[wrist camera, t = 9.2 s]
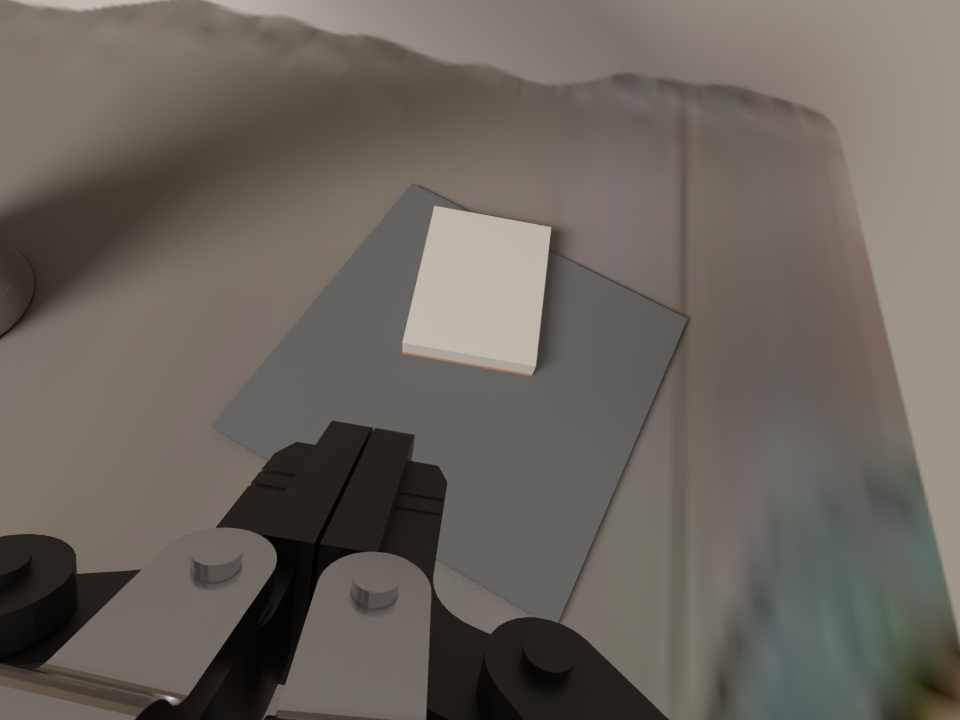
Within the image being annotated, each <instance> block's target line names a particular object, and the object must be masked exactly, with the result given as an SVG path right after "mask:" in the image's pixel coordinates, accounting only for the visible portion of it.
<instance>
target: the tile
mask: <svg viewBox="0 0 960 720" xmlns="http://www.w3.org/2000/svg"><path fill="white" fill-rule="evenodd" d="M550 234H551V227H547V226H542V225H537V224H531V223H526V222H520V221H515V220H509V219H504V218H499V217H493V216H488V215H482V214H477V213H471V212H466V211H461V210H455V209H450V208H444V207H439V206H434V210H433V214H432V218H431V222H430V227H429V231H428V235H427V239H426V244H425V248H424V252H423V256H422V261H421V265H420V269H419V273H418V278H417V282H416V286H415V290H414V295H413V299H412V303H411V307H410V312H409V316H408V320H407V325H406V329H405V333H404V337H403V342H402V353H403V354H407V355H412V356H418V357H424V358H429V359H435V360H441V361H446V362H452V363H458V364H463V365H469V366H475V367H480V368H486V369H492V370H497V371H503V372H509V373H514V374H520V375H526V376H532V374H533V372H534V370H535V367H536V361H537V352H538V343H539V334H540V325H541V315H542V306H543V297H544V288H545V279H546V270H547V261H548V252H549V243H550Z"/></svg>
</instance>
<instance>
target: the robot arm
mask: <svg viewBox="0 0 960 720" xmlns="http://www.w3.org/2000/svg"><path fill="white" fill-rule="evenodd" d="M33 291H34V276H33V271H32V268H31V266H30V265H29V263H28V261H27V260H26V259H25V258H24V257H23V255H22V254H21V253H20V252H19V251H18V250H17V249H16V248H15V247H14V246H13V245H12V244H11V243H10V242H9V241H8V240H7V239H6V238H5V237H4V236H3V235H2V234H1V233H0V335H2V334H3V333H4V332H5V331H7V330H8V329H9V328H11V327H12V325H13V324H14V323H15V322H16V321H17V320H18V319H19V318H20V317H21V316H22V314H23V313H24V311H25V310H26V308H27V306H28V305H29V303H30V300H31V297H32V294H33ZM414 440H415V434H409V433H404V432H398V431H392V430H386V429H380V428H375V429H374V431H373V427H368V426H362V425H356V424H351V423H345V422H339V421H331V422H330V424H329V425H328V427H327V428H326V430H325V431H324V433H323V434H322V436H321V438H320V439H319V441H318V442H317V444H316V445H313V444H308V443H302V442H295V443H293V444H291V445H289V446H288V447H286V448H284V449H282V450H280V451H278V452H276V453H274V455H273V456H272V457H271V458H270V460H269V461H268V462H267V463H266V465H265V466H264V467H263V468H262V472H259V474H258V475H257V476H256V477H255V479H254V480H253V481H252V483H251V486H248V487H247V489H246V490H245V491H244V493H243V494H242V495H241V496H240V498H239V499H238V500H237V501H236V503H235V504H234V505H233V506H232V508H231V509H230V510H229V512H228V513H227V514H226V515H225V517H224V518H223V519H222V520H221V522H220V523H219V524H218V525H217V527H216V528H212V529H205V530H201V531H197V532H193V533H190V534H188V535H185V536H183V537H181V538H178V539H176V540H175V541H173V542H172V543H170V544H168V545H167V546H166V547H165V548H164V549H162V550H161V551H160V552H159V553H158V554H157V555H156V556H155V557H154V558H153V559H152V560H151V561H150V562H149V563H148V564H147V565H146V566H145V567H144V568H143V569H141V570H132V571H118V572H101V573H85V574H77V567H76V554H75V552H74V550H73V548H72V547H71V546H70V545H69V544H67V543H65V542H64V541H62V540H60V539H57V538H54V537H50V536H45V535H35V534H19V535H9V536H3V537H0V720H669V719H668V718H667V717H666V716H665V715H664V714H662V713H661V712H660V711H659V710H658V709H657V708H656V707H655V706H654V705H653V704H652V703H651V702H650V701H649V700H648V699H647V698H646V697H645V696H644V695H643V694H642V693H641V692H640V691H639V690H638V689H637V688H636V687H634V686H633V685H632V684H631V683H630V682H629V681H628V680H627V679H626V678H625V677H624V676H623V675H622V674H621V673H620V672H619V671H618V670H617V669H616V668H615V667H614V666H613V665H612V664H611V663H610V662H609V661H608V660H606V659H605V658H604V657H603V656H602V655H601V654H600V653H599V652H598V651H597V650H596V649H595V648H594V647H593V646H592V645H591V644H590V643H589V642H588V641H587V640H585V639H584V638H583V637H582V636H581V635H579V634H578V633H576V632H575V631H573V630H572V629H570V628H568V627H566V626H564V625H562V624H559V623H557V622H554V621H551V620H547V619H542V618H534V617H524V618H517V619H513V620H510V621H507V622H505V623H503V624H502V625H500V626H499V627H497V628H496V629H495V630H494V631H493V632H492V634H488V633H486V632H484V631H482V630H479V629H477V628H475V627H473V626H471V625H469V624H467V623H465V622H463V621H461V620H460V619H458V618H457V617H455V616H454V615H453V614H452V613H451V612H449V611H448V610H447V609H446V608H445V606H444V605H443V604H442V603H441V601H440V600H439V598H438V597H437V595H436V592H435V590H434V585H433V574H434V567H435V561H436V554H437V548H438V541H439V535H440V528H441V522H442V515H443V509H444V502H445V496H446V489H447V483H448V482H447V480H446V479H445V477H444V475H443V473H442V471H441V470H440V468H439V466H438V465H432V464H426V463H420V462H414V461H412V454H413V448H414ZM278 684H282V685H285V687H284V690H283V693H282V697H281V700H280V703H279V706H278V709H277V712H276V714H275V716H271V715H267V716H266V717H265V719H264V714H265V712H266V710H267V708H268V706H269V704H270V701H271V699H272V697H273V694H274V692H275V690H276V687H277V685H278Z"/></svg>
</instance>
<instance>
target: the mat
mask: <svg viewBox="0 0 960 720" xmlns="http://www.w3.org/2000/svg"><path fill="white" fill-rule="evenodd" d="M434 206H439V207H444V208H450V209H455V210H461V211H466V212H470V211H467V210H465V209H463V208H461V207H459V206H457V205H455V204H453V203H451V202H449V201H447V200H445V199H443V198H441V197H439V196H437V195H435V194H433V193H431V192H429V191H427V190H425V189H423V188H421V187H419V186H417V185H415V184H413V183H412V184H411V186H410V187H409V188H408V189H407V190H406V192H405V193H404V194H403V195H402V196H401V198H400V199H399V200H398V201H397V202H396V204H395V205H394V206H393V207H392V209H391V210H390V211H389V212H388V213H387V215H386V216H385V217H384V218H383V219H382V221H381V222H380V223H379V224H378V225H377V227H376V228H375V229H374V230H373V232H372V233H371V234H370V235H369V236H368V238H367V239H366V240H365V241H364V242H363V244H362V245H361V246H360V247H359V248H358V250H357V251H356V252H355V253H354V255H353V256H352V257H351V258H350V259H349V261H348V262H347V263H346V264H345V265H344V267H343V268H342V269H341V270H340V271H339V273H338V274H337V275H336V276H335V278H334V279H333V280H332V281H331V282H330V284H329V285H328V286H327V287H326V288H325V290H324V291H323V292H322V293H321V294H320V296H319V297H318V298H317V299H316V301H315V302H314V303H313V304H312V305H311V307H310V308H309V309H308V310H307V311H306V313H305V314H304V315H303V316H302V317H301V319H300V320H299V321H298V322H297V323H296V325H295V326H294V327H293V328H292V330H291V331H290V332H289V333H288V334H287V336H286V337H285V338H284V339H283V340H282V342H281V343H280V344H279V345H278V346H277V348H276V349H275V350H274V351H273V353H272V354H271V355H270V356H269V357H268V359H267V360H266V361H265V362H264V363H263V365H262V366H261V367H260V368H259V369H258V371H257V372H256V373H255V374H254V376H253V377H252V378H251V379H250V380H249V382H248V383H247V384H246V385H245V386H244V388H243V389H242V390H241V391H240V392H239V394H238V395H237V396H236V397H235V399H234V400H233V401H232V402H231V403H230V405H229V406H228V407H227V408H226V409H225V411H224V412H223V413H222V414H221V415H220V417H219V418H218V419H217V420H216V422H215V423H214V424H213V425H212V427H213V428H214V429H215V430H217V431H218V432H220V433H222V434H223V435H225V436H227V437H229V438H230V439H232V440H234V441H235V442H237V443H239V444H241V445H242V446H244V447H246V448H247V449H249V450H251V451H252V452H254V453H256V454H258V455H259V456H261V457H263V458H264V459H266V460H268V461H269V460H270V458H271V457H272V456H273V455H274V453H276V452H278V451H280V450H282V449H284V448H286V447H288V446H289V445H291V444H293V443H295V442H302V443H308V444H313V445H316V444H317V442H318V441H319V439H320V438H321V436H322V434H323V433H324V431H325V430H326V428H327V427H328V425H329V424H330V422H331V421H339V422H345V423H351V424H356V425H362V426H368V427H373V431H374V429H375V428H380V429H386V430H392V431H398V432H404V433H409V434H415V440H414V448H413V454H412V461H414V462H420V463H426V464H432V465H438V466H439V468H440V470H441V471H442V473H443V475H444V477H445V479H446V480H447V482H448V483H447V489H446V496H445V502H444V509H443V515H442V522H441V528H440V535H439V541H438V548H437V554H436V559H437V560H439V561H440V562H442V563H444V564H445V565H447V566H449V567H451V568H452V569H454V570H456V571H457V572H459V573H461V574H463V575H464V576H466V577H468V578H469V579H471V580H473V581H474V582H476V583H478V584H480V585H481V586H483V587H485V588H486V589H488V590H490V591H492V592H493V593H495V594H497V595H498V596H500V597H502V598H504V599H505V600H507V601H509V602H510V603H512V604H514V605H515V606H517V607H519V608H521V609H522V610H524V611H526V612H527V613H529V614H531V615H533V616H534V617H536V618H542V619H547V620H551V621H554V622H557V623H558V622H559V619H560V617H561V615H562V612H563V610H564V608H565V605H566V603H567V601H568V598H569V596H570V594H571V591H572V589H573V587H574V584H575V582H576V580H577V577H578V575H579V573H580V570H581V568H582V566H583V563H584V561H585V559H586V556H587V554H588V551H589V549H590V547H591V544H592V542H593V540H594V537H595V535H596V533H597V530H598V528H599V526H600V523H601V521H602V519H603V516H604V514H605V512H606V509H607V507H608V505H609V502H610V500H611V498H612V495H613V493H614V491H615V488H616V486H617V483H618V481H619V479H620V476H621V474H622V472H623V469H624V467H625V465H626V462H627V460H628V458H629V455H630V453H631V451H632V448H633V446H634V444H635V441H636V439H637V437H638V434H639V432H640V430H641V427H642V425H643V423H644V420H645V418H646V416H647V413H648V411H649V408H650V406H651V404H652V401H653V399H654V397H655V394H656V392H657V390H658V387H659V385H660V383H661V380H662V378H663V376H664V373H665V371H666V369H667V366H668V364H669V362H670V359H671V357H672V355H673V352H674V350H675V348H676V345H677V343H678V340H679V338H680V336H681V333H682V331H683V329H684V326H685V324H686V322H687V318H685V317H683V316H681V315H679V314H677V313H675V312H673V311H671V310H669V309H667V308H665V307H663V306H661V305H659V304H657V303H654V302H652V301H650V300H648V299H646V298H644V297H642V296H640V295H638V294H636V293H634V292H632V291H630V290H628V289H626V288H624V287H622V286H620V285H618V284H616V283H614V282H612V281H610V280H608V279H606V278H604V277H602V276H600V275H598V274H596V273H594V272H591V271H589V270H587V269H585V268H583V267H581V266H579V265H577V264H575V263H573V262H571V261H569V260H567V259H565V258H563V257H561V256H559V255H557V254H555V253H553V252H551V251H549V252H548V261H547V270H546V279H545V288H544V297H543V306H542V315H541V325H540V334H539V343H538V352H537V361H536V367H535V370H534V372H533V374H532V376H526V375H520V374H514V373H509V372H503V371H497V370H492V369H486V368H480V367H475V366H469V365H463V364H458V363H452V362H446V361H441V360H435V359H429V358H424V357H418V356H412V355H407V354H403V353H402V342H403V337H404V333H405V329H406V325H407V320H408V316H409V312H410V307H411V303H412V299H413V295H414V290H415V286H416V282H417V278H418V273H419V269H420V265H421V261H422V256H423V252H424V248H425V244H426V239H427V235H428V231H429V227H430V222H431V218H432V214H433V210H434ZM471 213H472V212H471Z"/></svg>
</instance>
